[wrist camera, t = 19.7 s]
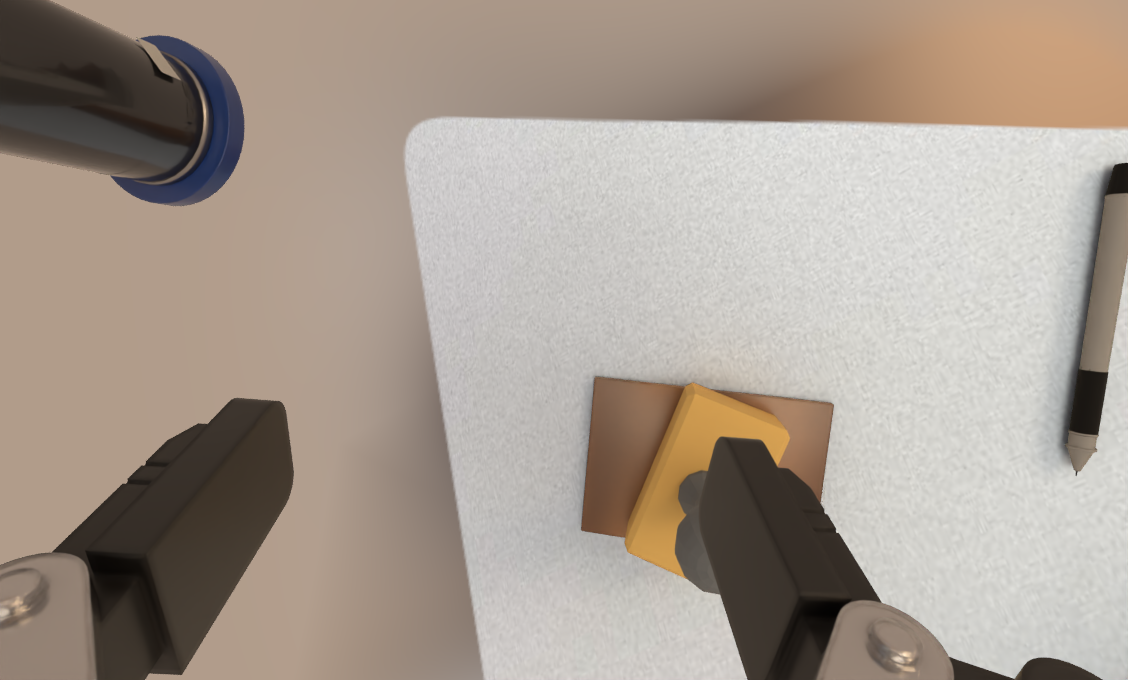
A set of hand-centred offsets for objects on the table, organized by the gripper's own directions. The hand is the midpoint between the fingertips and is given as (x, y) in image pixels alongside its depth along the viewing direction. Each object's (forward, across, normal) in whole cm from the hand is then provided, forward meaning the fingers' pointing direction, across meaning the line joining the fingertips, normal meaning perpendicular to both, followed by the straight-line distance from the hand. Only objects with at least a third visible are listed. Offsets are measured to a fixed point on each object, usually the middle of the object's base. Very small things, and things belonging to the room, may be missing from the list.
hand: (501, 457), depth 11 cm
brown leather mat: (+19, -12, +14) cm, 27 cm away
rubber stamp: (+19, -12, +14) cm, 26 cm away
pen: (+19, -30, +2) cm, 36 cm away
